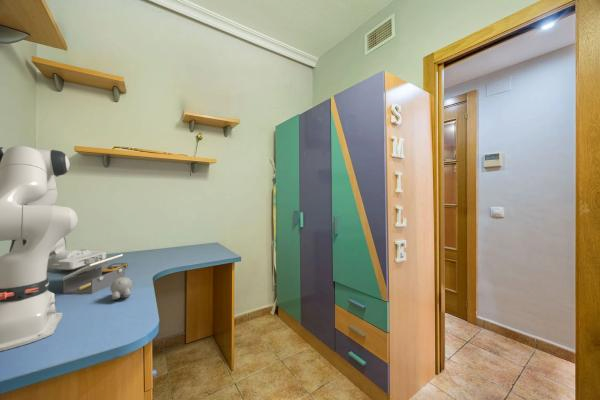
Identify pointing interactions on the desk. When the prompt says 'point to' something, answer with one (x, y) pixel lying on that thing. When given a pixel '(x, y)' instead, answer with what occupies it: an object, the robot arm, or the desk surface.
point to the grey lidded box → (91, 281)
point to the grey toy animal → (121, 288)
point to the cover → (92, 266)
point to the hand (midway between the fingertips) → (101, 259)
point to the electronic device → (113, 267)
